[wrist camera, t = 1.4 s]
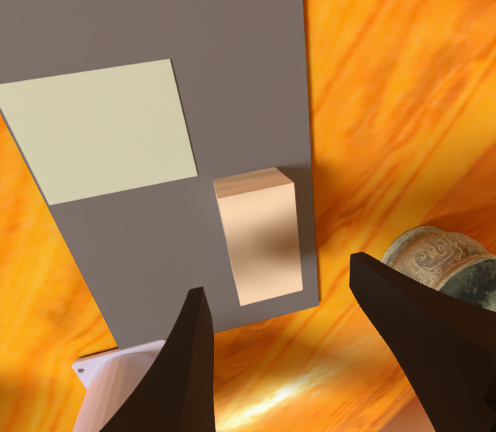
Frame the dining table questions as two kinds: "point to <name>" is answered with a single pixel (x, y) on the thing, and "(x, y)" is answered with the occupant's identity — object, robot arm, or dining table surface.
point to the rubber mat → (158, 142)
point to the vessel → (446, 264)
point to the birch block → (260, 233)
